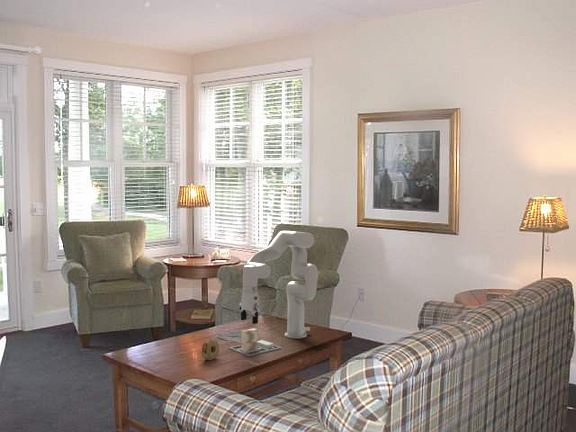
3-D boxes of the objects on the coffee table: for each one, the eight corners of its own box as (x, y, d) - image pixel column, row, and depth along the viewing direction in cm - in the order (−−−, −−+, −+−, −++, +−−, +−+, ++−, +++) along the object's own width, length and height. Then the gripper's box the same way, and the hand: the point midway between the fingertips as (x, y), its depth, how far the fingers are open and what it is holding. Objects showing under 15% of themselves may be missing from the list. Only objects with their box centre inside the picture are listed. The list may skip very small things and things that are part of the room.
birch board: (253, 350, 330) (253, 328, 329) (257, 351, 328) (257, 329, 327) (241, 353, 325) (241, 330, 324) (244, 354, 323) (245, 331, 322)
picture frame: (216, 338, 355) (240, 346, 339) (216, 333, 354) (240, 342, 339) (239, 333, 366) (263, 341, 350) (239, 329, 366) (263, 336, 350)
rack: (261, 343, 343) (261, 340, 342) (281, 351, 330) (281, 347, 330) (228, 351, 328) (228, 347, 328) (248, 359, 316) (248, 355, 315)
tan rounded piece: (206, 362, 309) (206, 342, 308) (200, 361, 311) (200, 341, 310) (220, 357, 317) (220, 338, 317) (215, 356, 320) (215, 336, 319)
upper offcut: (262, 343, 338) (262, 340, 338) (273, 347, 332) (273, 343, 332) (255, 345, 335) (255, 341, 335) (267, 348, 329) (267, 345, 329)
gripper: (266, 290, 320) (265, 324, 321) (245, 285, 333) (245, 317, 334) (254, 292, 315) (253, 326, 316) (234, 287, 328) (233, 319, 329)
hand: (249, 321), depth 325 cm, fingers open, 9 cm apart
